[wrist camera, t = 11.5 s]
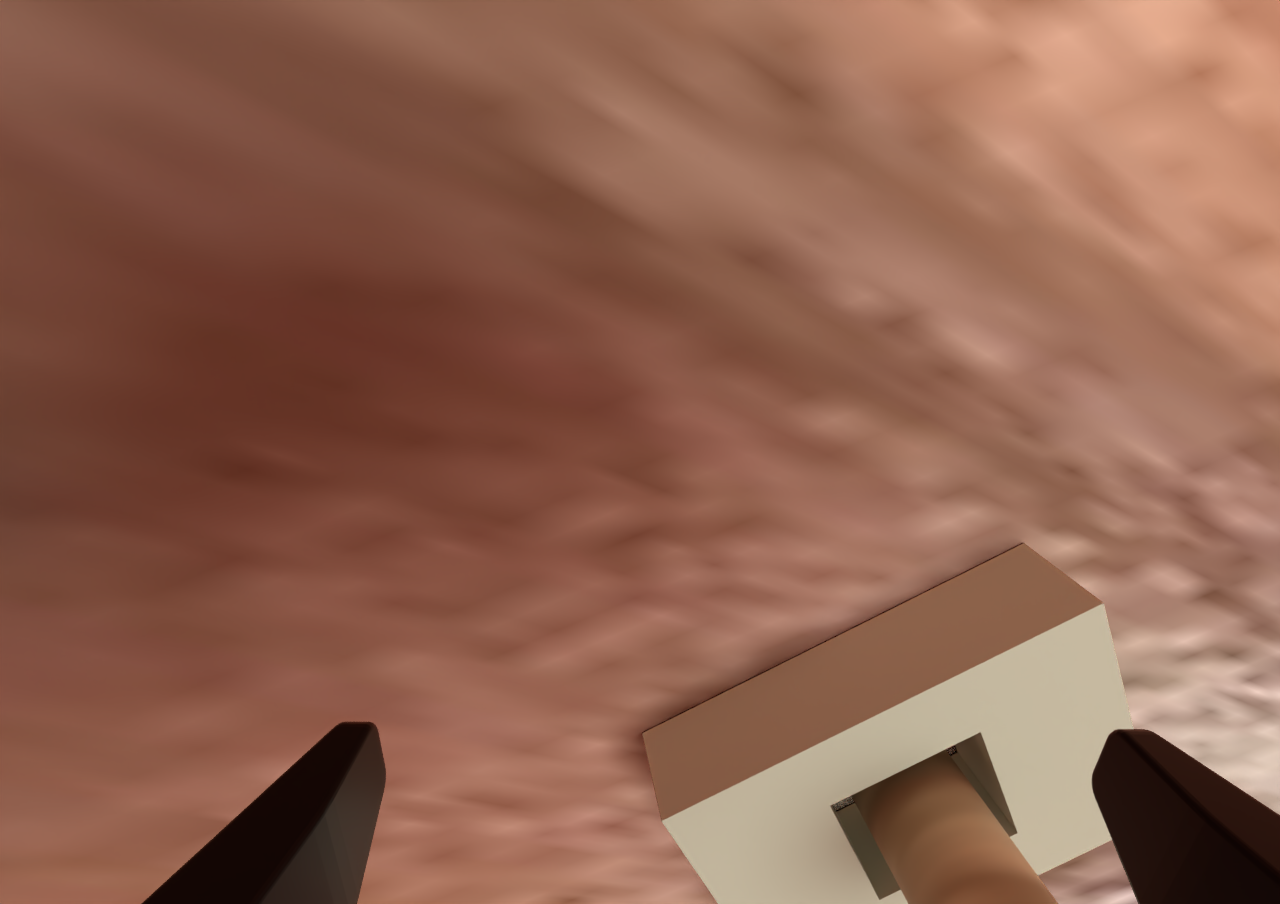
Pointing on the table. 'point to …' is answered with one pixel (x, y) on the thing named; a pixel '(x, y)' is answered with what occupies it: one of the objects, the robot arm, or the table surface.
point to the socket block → (899, 736)
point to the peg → (946, 839)
